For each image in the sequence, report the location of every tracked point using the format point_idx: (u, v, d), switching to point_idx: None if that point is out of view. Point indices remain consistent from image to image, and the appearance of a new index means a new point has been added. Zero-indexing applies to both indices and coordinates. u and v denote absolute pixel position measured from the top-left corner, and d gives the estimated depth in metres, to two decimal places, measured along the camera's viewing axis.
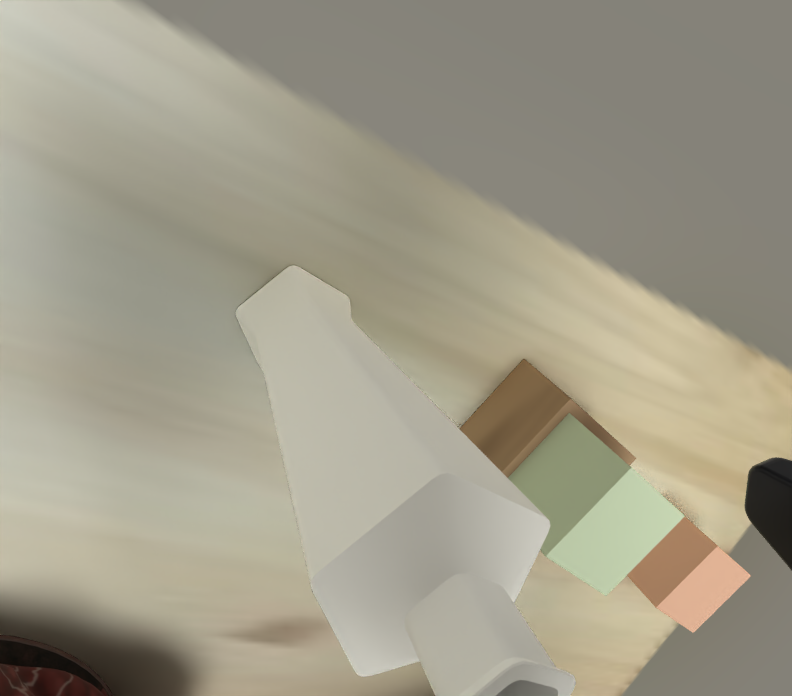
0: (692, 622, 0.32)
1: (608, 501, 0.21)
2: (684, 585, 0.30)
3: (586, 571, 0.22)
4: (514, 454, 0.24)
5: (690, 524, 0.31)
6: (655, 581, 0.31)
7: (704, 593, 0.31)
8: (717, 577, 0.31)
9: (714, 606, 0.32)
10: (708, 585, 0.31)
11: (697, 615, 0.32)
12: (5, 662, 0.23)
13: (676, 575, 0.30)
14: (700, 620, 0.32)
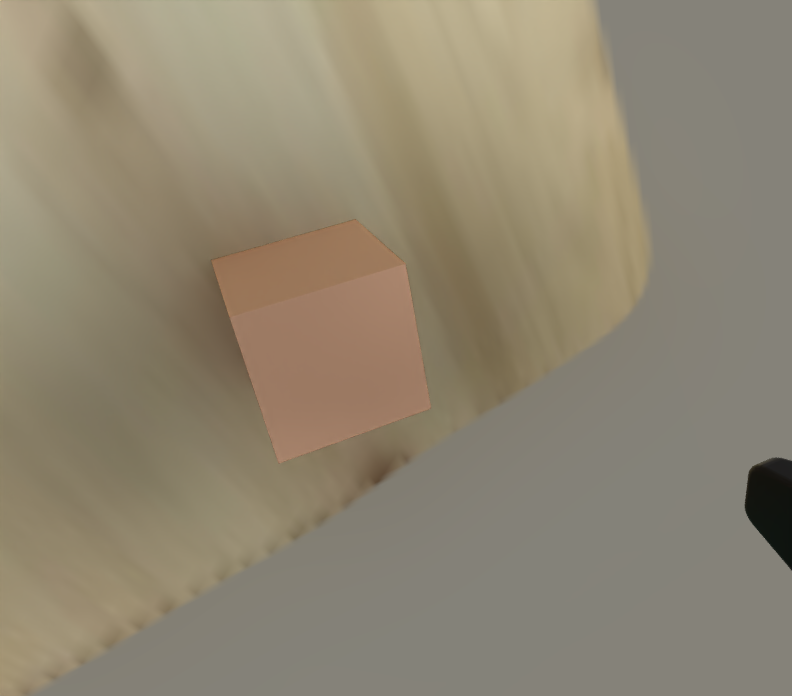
0: (287, 432, 0.15)
1: None
2: (308, 311, 0.14)
3: None
4: None
5: (378, 243, 0.16)
6: (260, 291, 0.15)
7: (337, 373, 0.15)
8: (375, 352, 0.15)
9: (342, 427, 0.16)
10: (352, 356, 0.15)
11: (303, 422, 0.15)
12: None
13: (303, 287, 0.14)
14: (303, 441, 0.16)
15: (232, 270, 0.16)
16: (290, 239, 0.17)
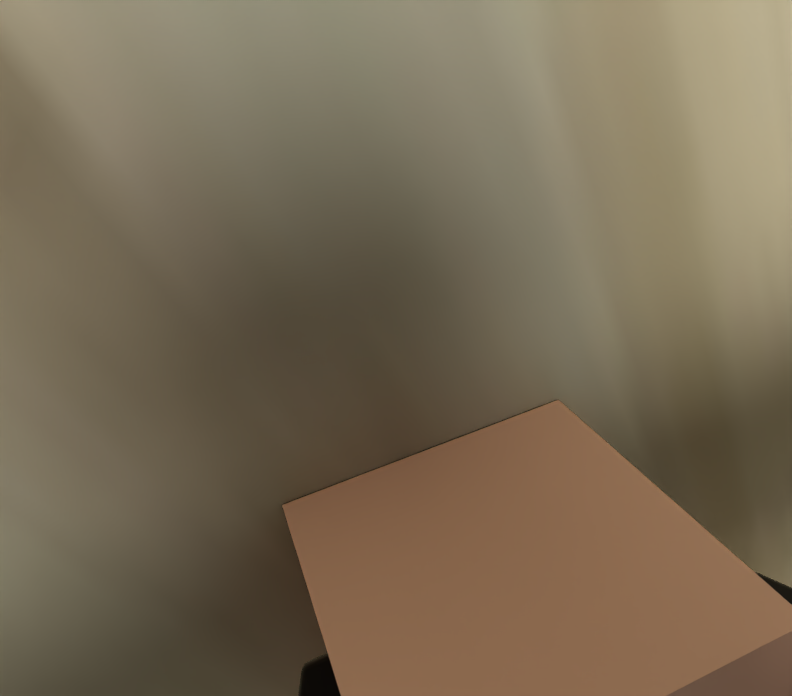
0: None
1: None
2: None
3: None
4: None
5: (671, 507, 0.07)
6: (437, 691, 0.06)
7: None
8: None
9: None
10: None
11: None
12: None
13: (557, 692, 0.06)
14: None
15: (341, 564, 0.07)
16: (442, 456, 0.08)
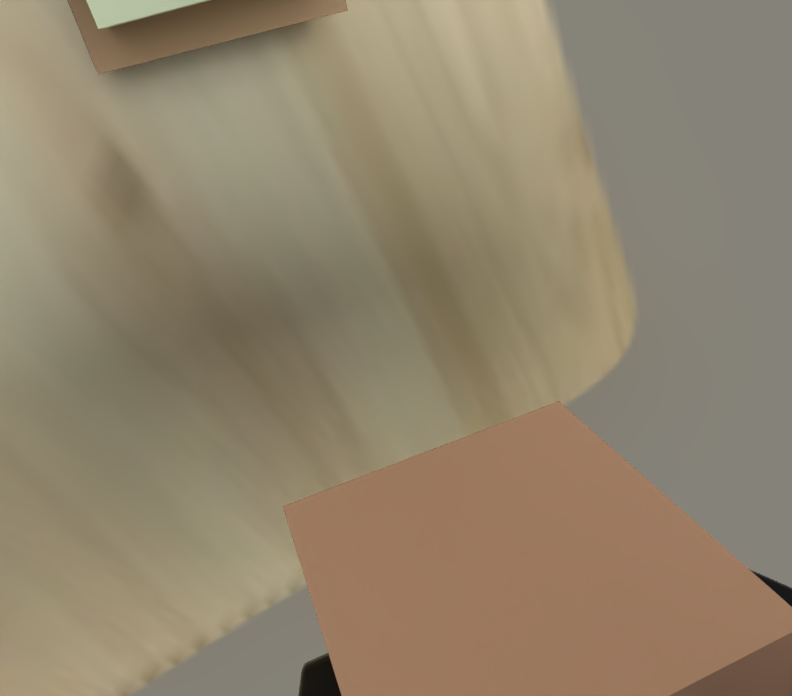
0: None
1: None
2: None
3: None
4: None
5: (671, 509, 0.07)
6: (438, 692, 0.06)
7: None
8: None
9: None
10: None
11: None
12: None
13: (557, 694, 0.06)
14: None
15: (342, 565, 0.07)
16: (442, 457, 0.08)
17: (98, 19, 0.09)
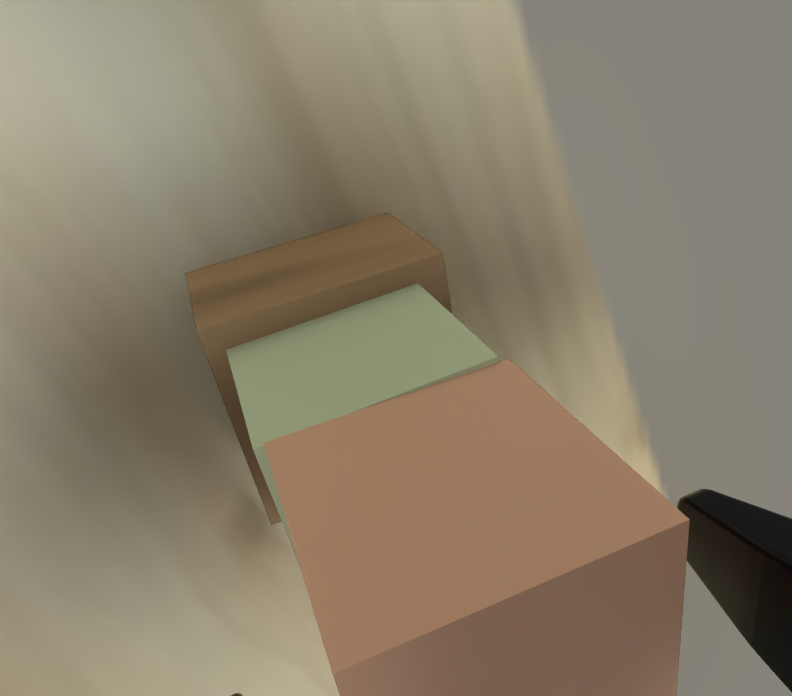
0: None
1: None
2: (492, 632, 0.07)
3: None
4: (303, 293, 0.13)
5: (592, 440, 0.08)
6: (383, 573, 0.07)
7: None
8: (602, 674, 0.08)
9: None
10: (560, 688, 0.07)
11: None
12: None
13: (479, 572, 0.07)
14: None
15: (311, 486, 0.08)
16: (404, 403, 0.10)
17: None
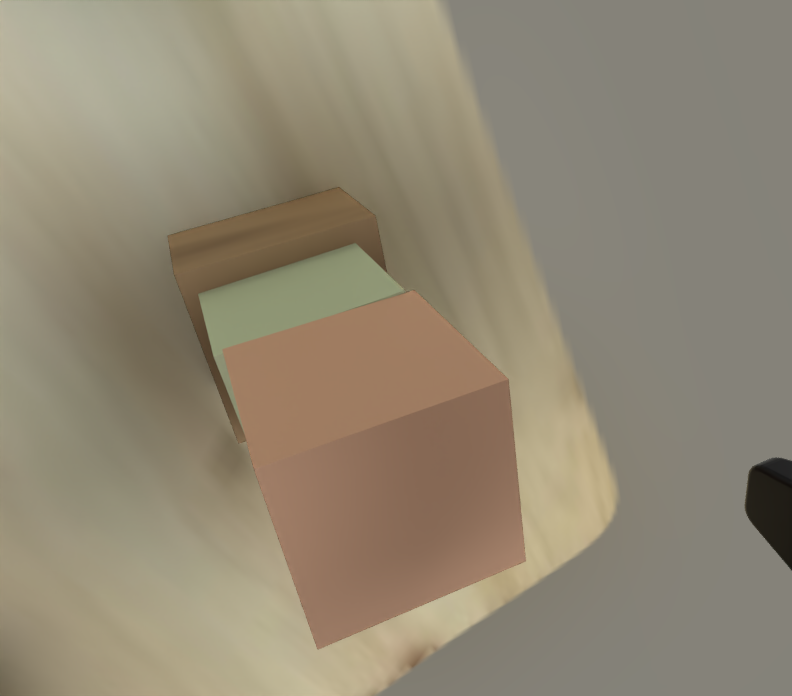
0: (331, 610, 0.11)
1: None
2: (368, 451, 0.10)
3: None
4: (261, 247, 0.16)
5: (458, 337, 0.11)
6: (296, 418, 0.10)
7: (404, 529, 0.11)
8: (457, 498, 0.11)
9: (406, 596, 0.11)
10: (426, 505, 0.10)
11: (354, 596, 0.11)
12: None
13: (360, 414, 0.10)
14: (353, 619, 0.11)
15: (253, 372, 0.11)
16: (330, 321, 0.13)
17: None
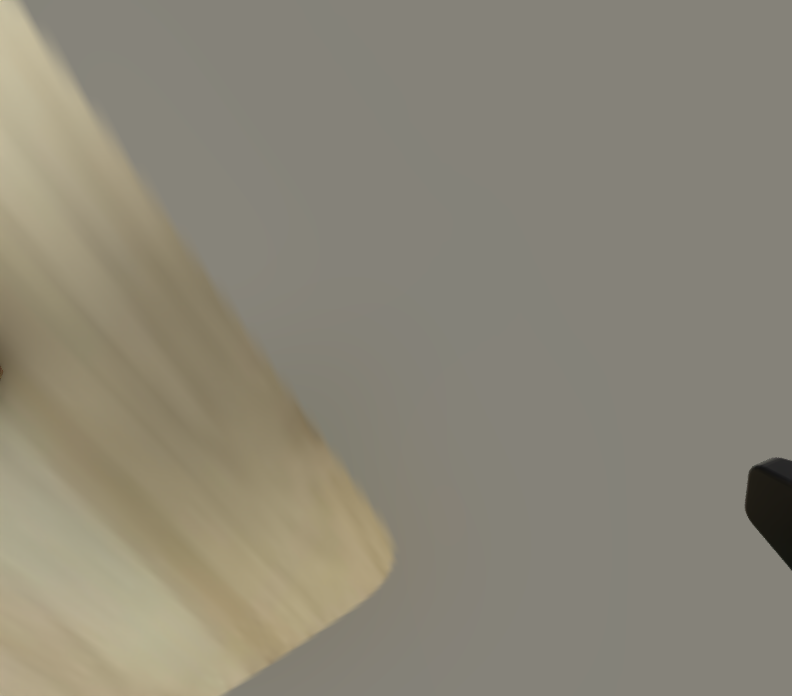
0: None
1: None
2: None
3: None
4: None
5: None
6: None
7: None
8: None
9: None
10: None
11: None
12: None
13: None
14: None
15: None
16: None
17: None
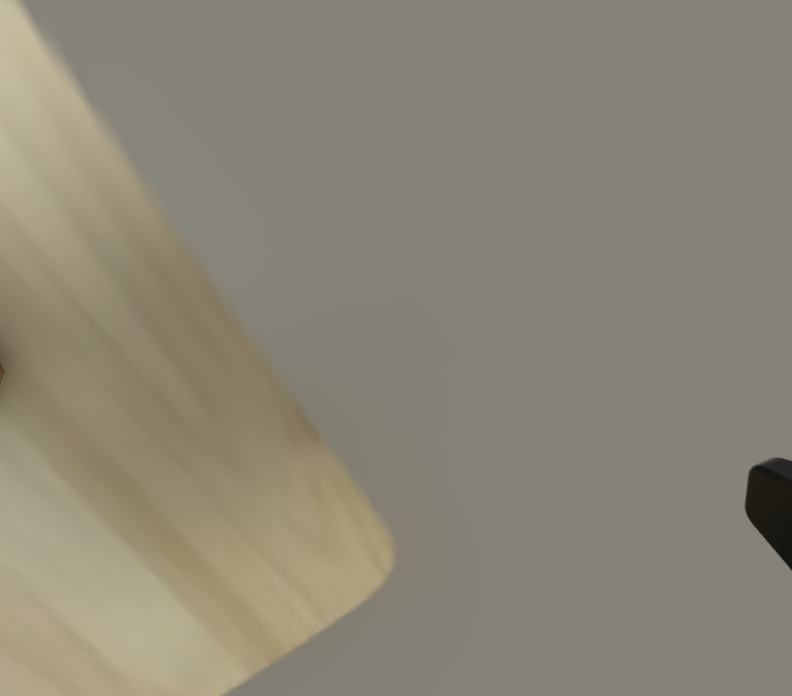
0: None
1: None
2: None
3: None
4: None
5: None
6: None
7: None
8: None
9: None
10: None
11: None
12: None
13: None
14: None
15: None
16: None
17: None
